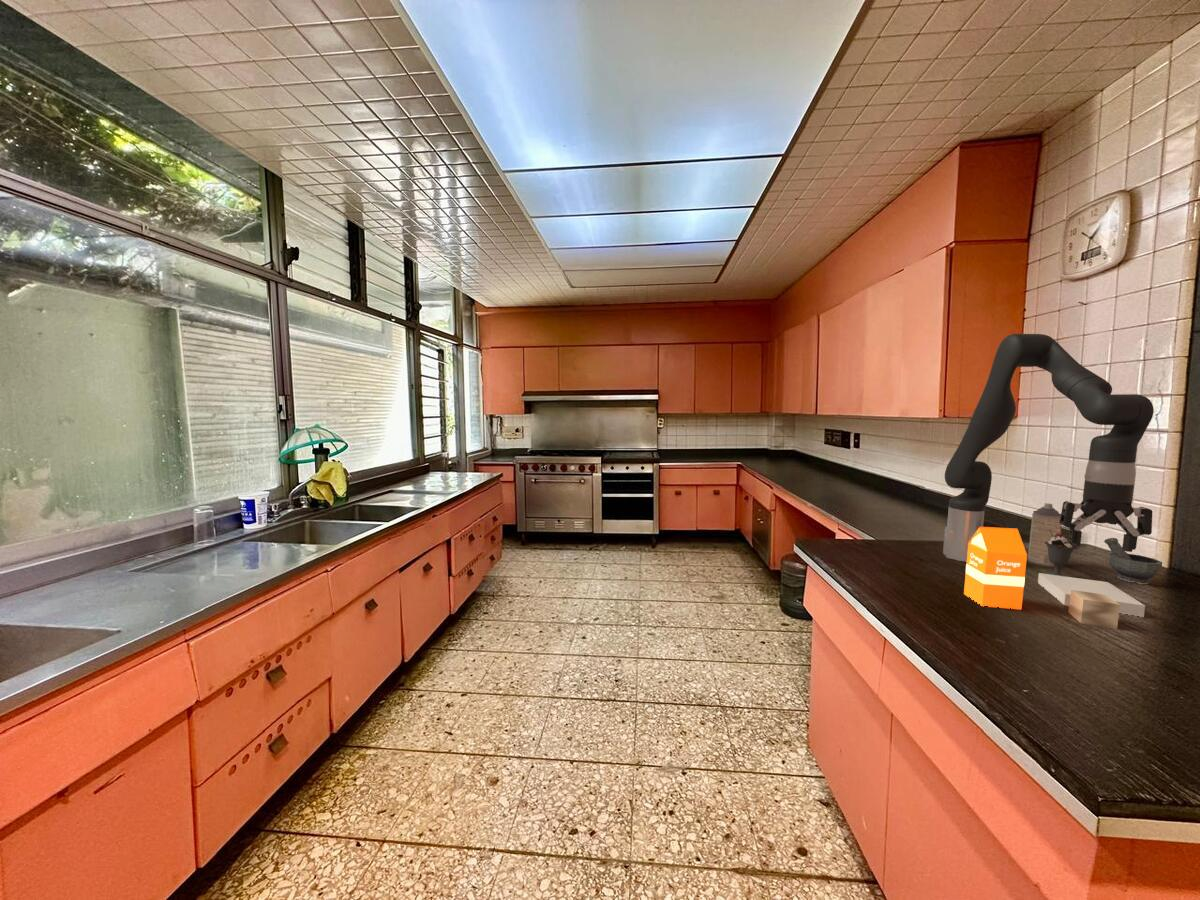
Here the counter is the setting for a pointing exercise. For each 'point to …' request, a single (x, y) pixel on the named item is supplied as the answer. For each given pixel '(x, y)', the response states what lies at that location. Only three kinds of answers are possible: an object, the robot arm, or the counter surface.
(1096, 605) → the birch block
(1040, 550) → the aerosol can
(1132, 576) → the mortar and pestle
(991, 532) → the orange juice
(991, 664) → the counter surface
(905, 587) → the counter surface
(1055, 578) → the cream board
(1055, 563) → the sundae
